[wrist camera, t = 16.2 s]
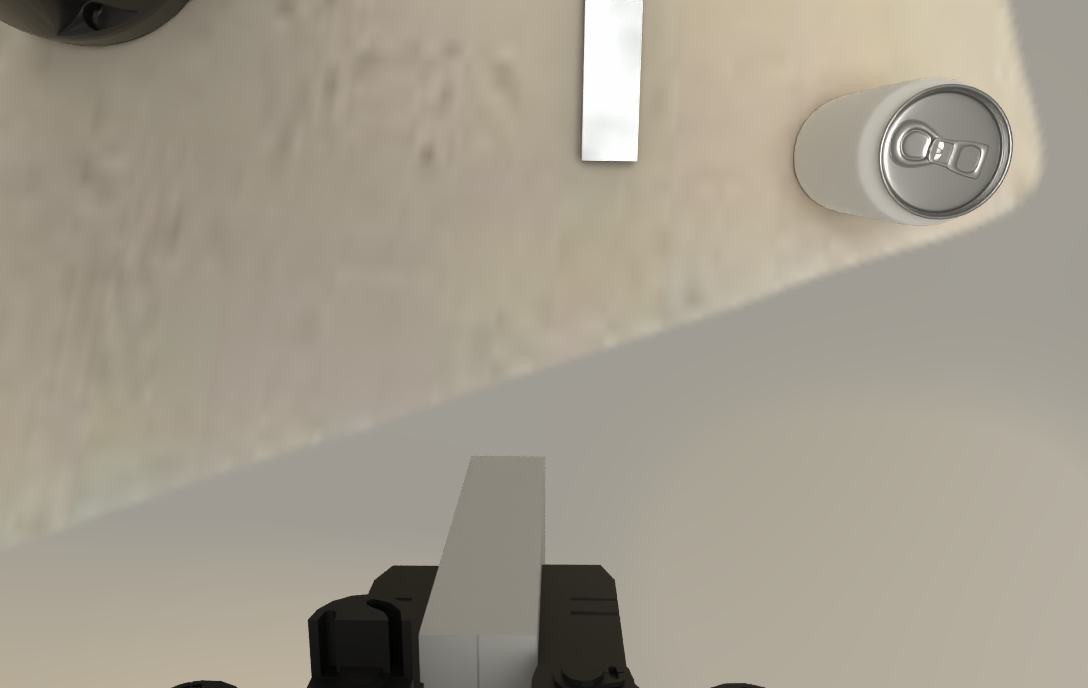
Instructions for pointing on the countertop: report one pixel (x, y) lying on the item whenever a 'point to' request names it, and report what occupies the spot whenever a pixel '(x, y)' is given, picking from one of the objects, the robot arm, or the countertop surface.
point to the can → (905, 152)
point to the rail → (611, 79)
